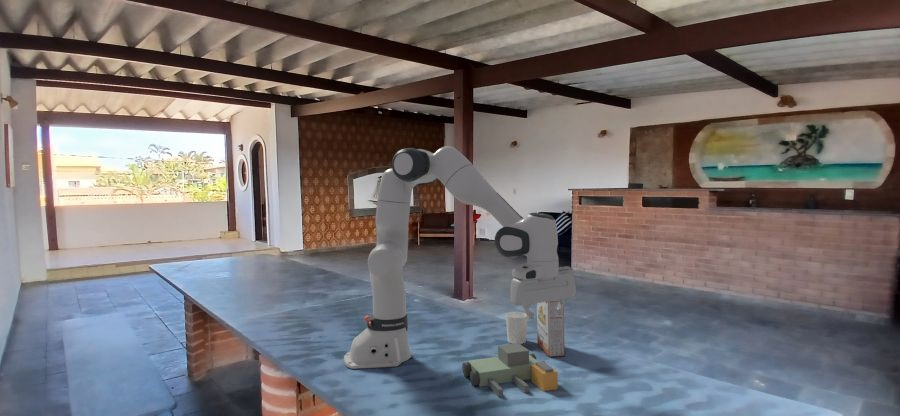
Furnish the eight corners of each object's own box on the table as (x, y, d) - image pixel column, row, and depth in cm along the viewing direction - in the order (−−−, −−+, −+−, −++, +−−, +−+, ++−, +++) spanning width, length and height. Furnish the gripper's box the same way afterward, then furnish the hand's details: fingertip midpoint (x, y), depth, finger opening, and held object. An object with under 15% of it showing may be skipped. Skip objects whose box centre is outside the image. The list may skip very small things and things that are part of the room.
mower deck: (484, 399, 124) (484, 370, 124) (462, 373, 142) (461, 347, 142) (560, 387, 131) (560, 359, 131) (530, 364, 149) (530, 339, 148)
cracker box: (536, 343, 168) (535, 286, 167) (552, 342, 169) (552, 286, 168) (547, 357, 154) (547, 295, 153) (565, 356, 155) (564, 294, 154)
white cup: (527, 345, 166) (527, 318, 166) (505, 344, 168) (504, 317, 167) (528, 338, 174) (527, 312, 174) (506, 337, 176) (506, 311, 175)
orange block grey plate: (543, 391, 129) (543, 371, 129) (531, 381, 136) (531, 362, 135) (557, 389, 130) (557, 368, 130) (545, 379, 137) (545, 360, 137)
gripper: (567, 263, 140) (568, 308, 141) (506, 271, 133) (508, 318, 134) (580, 267, 134) (581, 314, 135) (517, 274, 127) (519, 324, 128)
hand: (544, 316), depth 134 cm, fingers open, 8 cm apart
